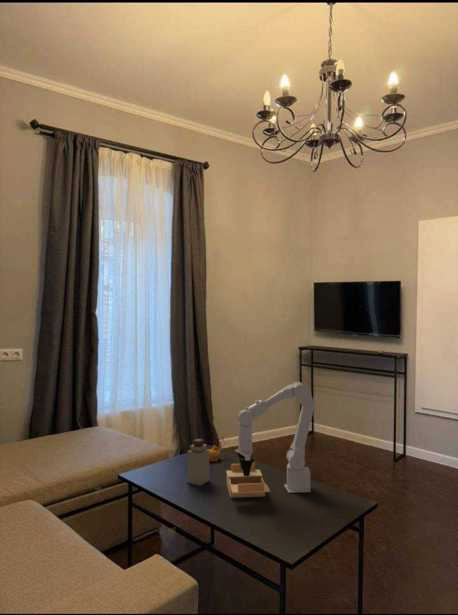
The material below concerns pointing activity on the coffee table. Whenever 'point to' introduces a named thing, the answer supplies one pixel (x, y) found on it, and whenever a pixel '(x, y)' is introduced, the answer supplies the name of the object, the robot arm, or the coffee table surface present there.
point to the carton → (243, 481)
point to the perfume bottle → (198, 463)
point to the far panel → (238, 472)
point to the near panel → (249, 488)
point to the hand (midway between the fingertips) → (245, 472)
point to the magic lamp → (215, 451)
